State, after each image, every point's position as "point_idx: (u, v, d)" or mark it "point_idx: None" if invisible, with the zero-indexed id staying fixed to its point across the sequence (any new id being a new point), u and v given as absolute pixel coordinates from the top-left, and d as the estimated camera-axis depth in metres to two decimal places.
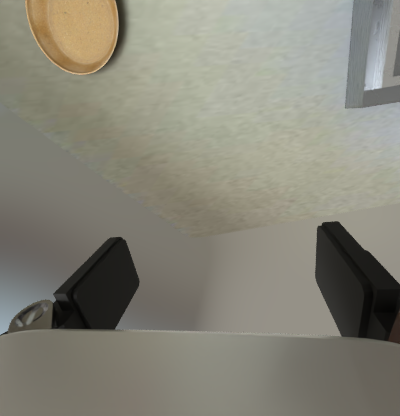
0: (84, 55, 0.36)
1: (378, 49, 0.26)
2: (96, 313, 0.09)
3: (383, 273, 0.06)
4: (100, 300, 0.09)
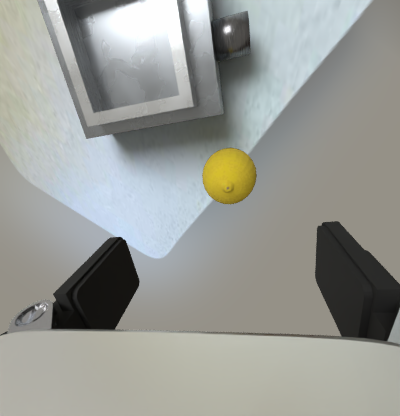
0: None
1: None
2: (96, 313, 0.09)
3: (383, 273, 0.06)
4: (100, 300, 0.09)
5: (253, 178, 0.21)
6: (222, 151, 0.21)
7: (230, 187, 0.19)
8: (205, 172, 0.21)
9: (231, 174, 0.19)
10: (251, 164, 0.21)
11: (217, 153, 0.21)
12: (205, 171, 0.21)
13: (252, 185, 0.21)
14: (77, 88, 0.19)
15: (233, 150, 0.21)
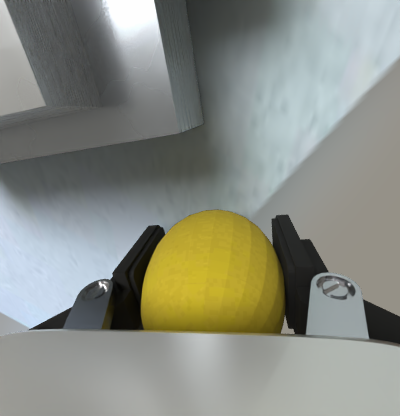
0: None
1: None
2: None
3: (305, 255, 0.07)
4: None
5: (281, 321, 0.07)
6: (192, 233, 0.08)
7: None
8: (143, 296, 0.07)
9: None
10: (275, 276, 0.07)
11: (178, 237, 0.08)
12: (143, 291, 0.07)
13: None
14: None
15: (223, 230, 0.08)
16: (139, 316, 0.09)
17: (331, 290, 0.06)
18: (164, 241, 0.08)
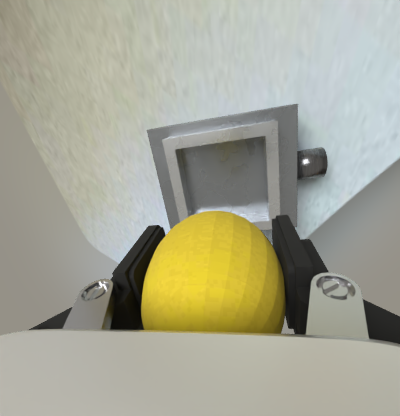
0: None
1: (210, 130, 0.20)
2: None
3: (305, 255, 0.07)
4: None
5: (282, 322, 0.07)
6: (192, 234, 0.08)
7: None
8: (143, 297, 0.07)
9: None
10: (275, 277, 0.07)
11: (179, 238, 0.08)
12: (143, 292, 0.07)
13: None
14: (179, 209, 0.22)
15: (223, 231, 0.08)
16: (139, 316, 0.09)
17: (331, 290, 0.06)
18: (164, 242, 0.08)
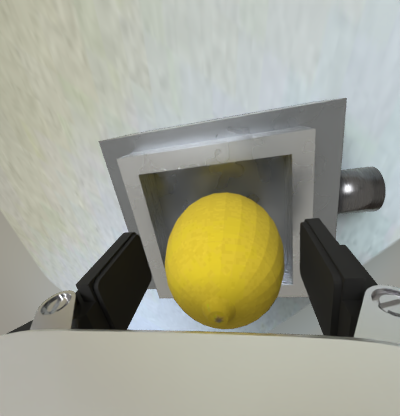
0: None
1: (197, 143, 0.12)
2: (115, 304, 0.09)
3: (352, 264, 0.06)
4: (118, 292, 0.09)
5: (281, 277, 0.09)
6: (208, 207, 0.09)
7: (226, 318, 0.07)
8: (168, 257, 0.09)
9: (229, 282, 0.07)
10: (276, 241, 0.09)
11: (197, 211, 0.09)
12: (168, 254, 0.09)
13: (278, 291, 0.09)
14: (152, 263, 0.14)
15: (233, 205, 0.09)
16: (106, 328, 0.08)
17: (390, 306, 0.05)
18: (184, 215, 0.10)
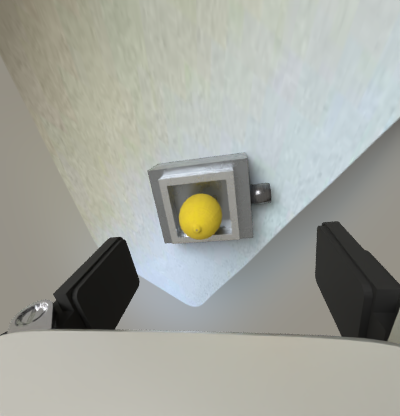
0: None
1: (191, 173, 0.30)
2: (96, 313, 0.09)
3: (383, 273, 0.06)
4: (100, 300, 0.09)
5: (218, 221, 0.26)
6: (194, 198, 0.27)
7: (198, 229, 0.25)
8: (180, 215, 0.26)
9: (200, 219, 0.25)
10: (216, 209, 0.26)
11: (190, 199, 0.27)
12: (180, 214, 0.27)
13: (217, 226, 0.26)
14: (170, 225, 0.32)
15: (203, 197, 0.27)
16: None
17: None
18: (185, 201, 0.27)
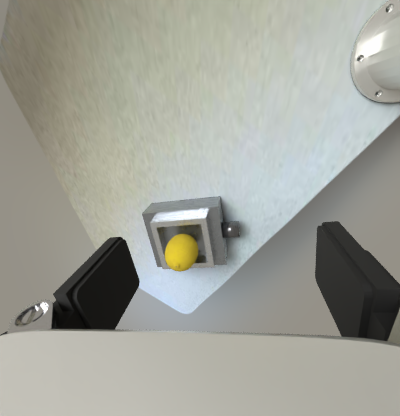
0: None
1: (175, 216, 0.39)
2: (96, 313, 0.09)
3: (383, 273, 0.06)
4: (100, 300, 0.09)
5: (193, 258, 0.35)
6: (176, 240, 0.36)
7: (177, 266, 0.34)
8: (165, 253, 0.35)
9: (178, 258, 0.34)
10: (192, 249, 0.35)
11: (173, 241, 0.36)
12: (165, 252, 0.35)
13: (193, 261, 0.35)
14: (160, 255, 0.41)
15: (182, 239, 0.36)
16: None
17: None
18: (169, 242, 0.36)
